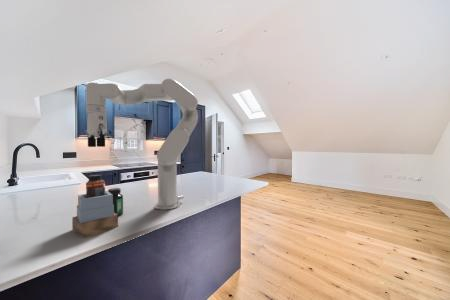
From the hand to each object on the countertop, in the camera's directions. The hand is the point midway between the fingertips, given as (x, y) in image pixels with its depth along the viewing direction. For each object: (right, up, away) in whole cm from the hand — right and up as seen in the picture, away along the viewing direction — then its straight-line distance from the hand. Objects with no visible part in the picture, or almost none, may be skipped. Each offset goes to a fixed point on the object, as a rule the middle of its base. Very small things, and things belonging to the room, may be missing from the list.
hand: (96, 146), depth 83 cm
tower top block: (+11, -27, -16) cm, 33 cm away
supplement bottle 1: (+11, -23, -15) cm, 30 cm away
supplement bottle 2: (+11, -32, -3) cm, 33 cm away
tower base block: (+11, -32, -16) cm, 37 cm away
